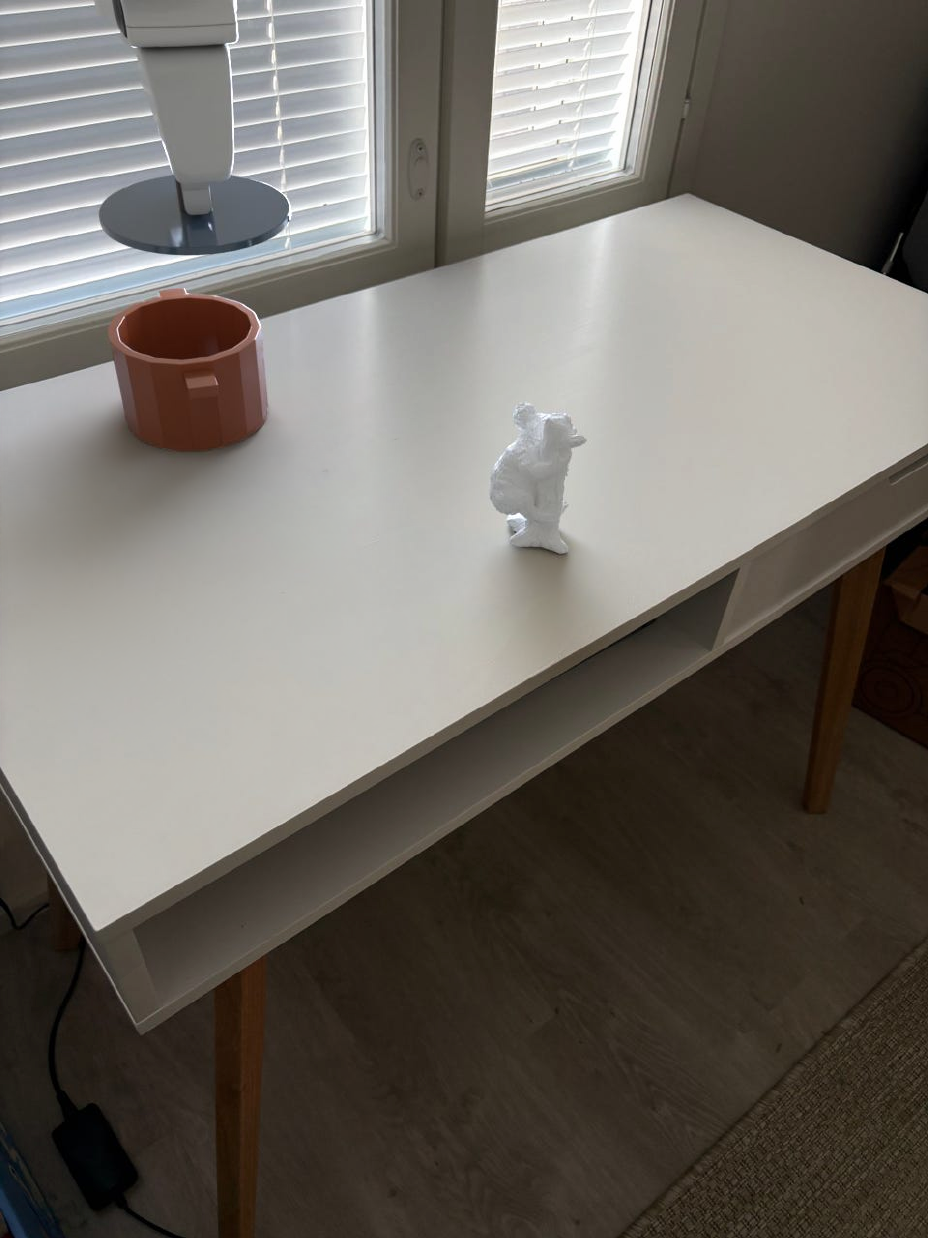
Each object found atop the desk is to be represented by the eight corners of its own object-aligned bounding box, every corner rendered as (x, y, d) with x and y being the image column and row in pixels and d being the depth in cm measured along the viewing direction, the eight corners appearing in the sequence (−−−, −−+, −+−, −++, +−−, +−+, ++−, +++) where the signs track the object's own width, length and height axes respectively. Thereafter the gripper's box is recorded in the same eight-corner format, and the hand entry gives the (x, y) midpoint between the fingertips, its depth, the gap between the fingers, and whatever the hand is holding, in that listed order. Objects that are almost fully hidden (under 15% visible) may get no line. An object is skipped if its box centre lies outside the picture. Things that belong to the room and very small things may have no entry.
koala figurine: (594, 556, 80) (618, 427, 72) (518, 575, 78) (533, 443, 70) (547, 496, 86) (564, 370, 78) (474, 512, 84) (484, 383, 76)
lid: (110, 273, 68) (95, 202, 65) (94, 196, 77) (81, 131, 74) (309, 253, 71) (305, 185, 68) (272, 182, 81) (266, 119, 77)
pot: (138, 478, 85) (120, 389, 79) (115, 372, 97) (98, 288, 91) (286, 456, 88) (280, 369, 82) (247, 357, 100) (238, 274, 94)
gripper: (98, -56, 70) (134, 153, 79) (127, 22, 56) (166, 263, 65) (191, -57, 71) (215, 147, 81) (241, 18, 58) (263, 254, 67)
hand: (193, 200), depth 73 cm, fingers closed on lid, 2 cm apart
